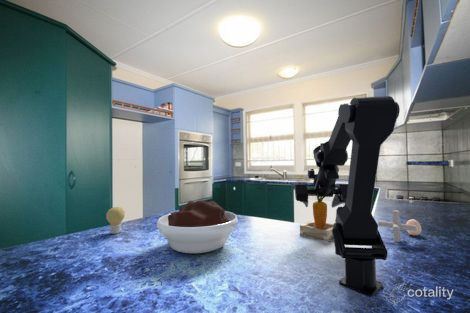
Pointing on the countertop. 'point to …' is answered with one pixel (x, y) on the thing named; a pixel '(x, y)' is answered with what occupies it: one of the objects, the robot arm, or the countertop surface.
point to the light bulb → (115, 219)
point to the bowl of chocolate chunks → (197, 227)
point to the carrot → (320, 213)
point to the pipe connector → (396, 226)
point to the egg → (418, 227)
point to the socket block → (317, 231)
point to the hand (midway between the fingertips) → (319, 206)
